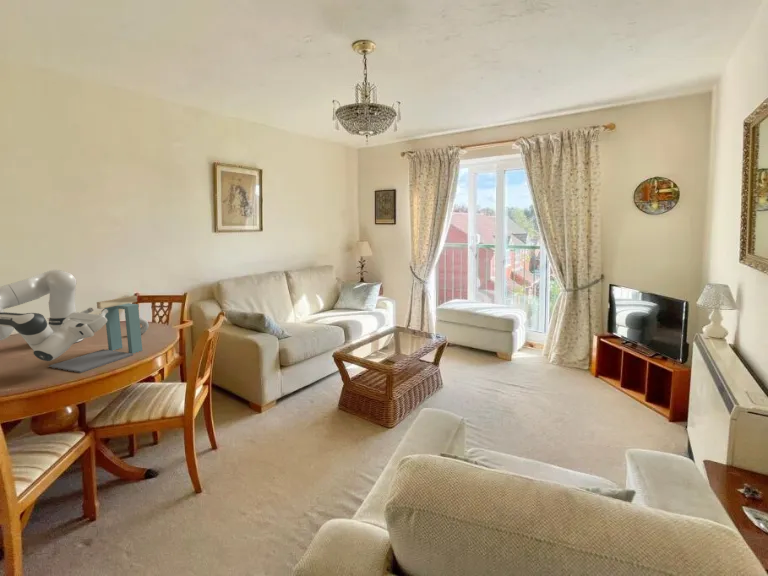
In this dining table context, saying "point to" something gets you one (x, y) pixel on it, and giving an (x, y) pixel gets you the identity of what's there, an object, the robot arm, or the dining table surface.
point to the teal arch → (131, 327)
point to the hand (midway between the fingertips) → (98, 309)
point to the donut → (144, 325)
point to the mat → (91, 360)
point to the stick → (116, 302)
